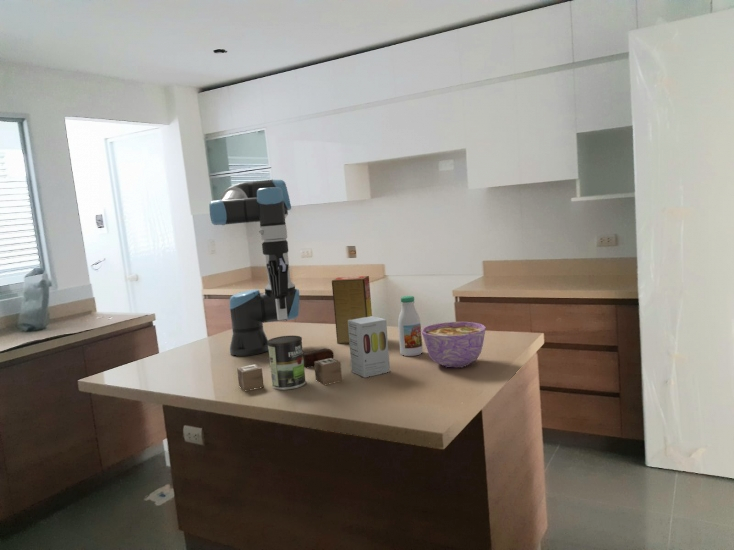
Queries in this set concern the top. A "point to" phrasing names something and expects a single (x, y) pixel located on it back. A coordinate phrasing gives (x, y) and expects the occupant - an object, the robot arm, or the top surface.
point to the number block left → (250, 377)
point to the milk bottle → (409, 328)
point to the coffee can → (286, 362)
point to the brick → (316, 356)
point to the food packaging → (350, 303)
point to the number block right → (328, 371)
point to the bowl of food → (454, 342)
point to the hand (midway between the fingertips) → (282, 319)
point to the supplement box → (368, 346)
